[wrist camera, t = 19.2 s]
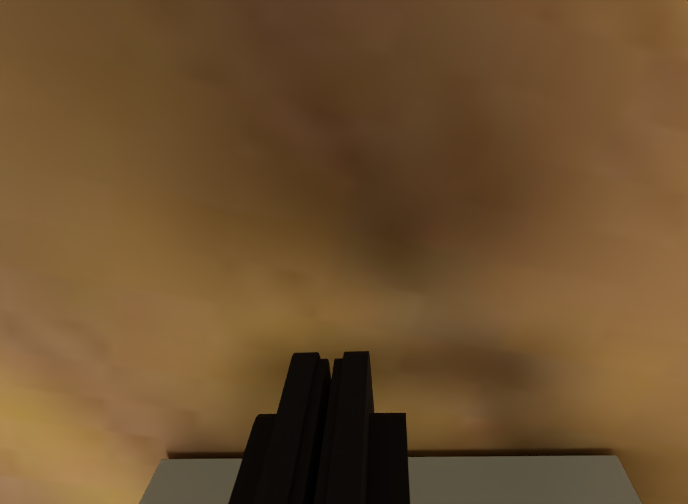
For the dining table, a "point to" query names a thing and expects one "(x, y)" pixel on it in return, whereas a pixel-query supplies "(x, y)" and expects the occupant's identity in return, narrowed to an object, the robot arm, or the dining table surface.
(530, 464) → the drawer
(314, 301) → the dining table surface
